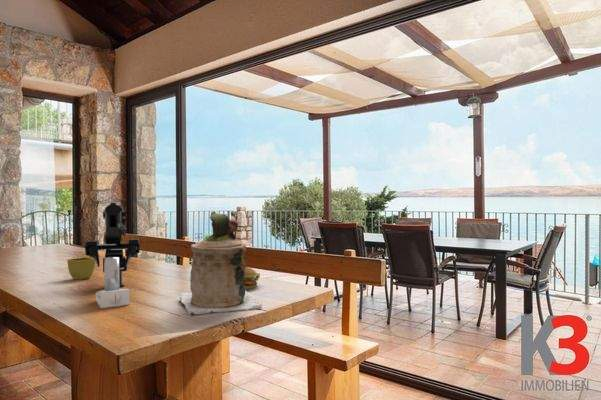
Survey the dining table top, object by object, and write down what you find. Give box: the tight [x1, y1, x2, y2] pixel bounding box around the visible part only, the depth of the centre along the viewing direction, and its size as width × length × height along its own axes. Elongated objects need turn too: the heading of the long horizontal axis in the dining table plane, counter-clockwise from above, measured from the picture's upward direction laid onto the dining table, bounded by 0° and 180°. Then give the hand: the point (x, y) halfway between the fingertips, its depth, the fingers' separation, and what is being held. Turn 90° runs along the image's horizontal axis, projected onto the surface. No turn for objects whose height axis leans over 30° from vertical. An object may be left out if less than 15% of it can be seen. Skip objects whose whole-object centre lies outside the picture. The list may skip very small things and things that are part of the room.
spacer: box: [103, 257, 120, 291], centre depth 147 cm, size 5×5×12 cm
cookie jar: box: [179, 211, 263, 316], centre depth 144 cm, size 25×25×32 cm
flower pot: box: [66, 256, 96, 281], centre depth 190 cm, size 9×9×9 cm
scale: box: [95, 288, 131, 309], centre depth 146 cm, size 13×10×5 cm
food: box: [243, 266, 261, 290], centre depth 172 cm, size 14×14×8 cm
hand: (112, 265), depth 152 cm, fingers open, 9 cm apart
